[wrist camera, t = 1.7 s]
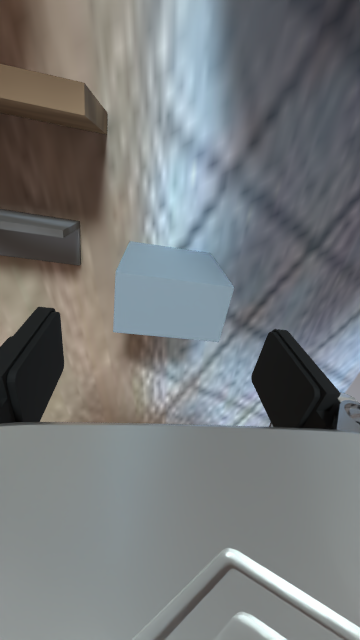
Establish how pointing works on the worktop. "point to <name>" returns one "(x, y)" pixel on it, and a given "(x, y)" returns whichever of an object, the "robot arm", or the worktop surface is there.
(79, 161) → the worktop surface
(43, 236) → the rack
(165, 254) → the blue grey rectangular block
